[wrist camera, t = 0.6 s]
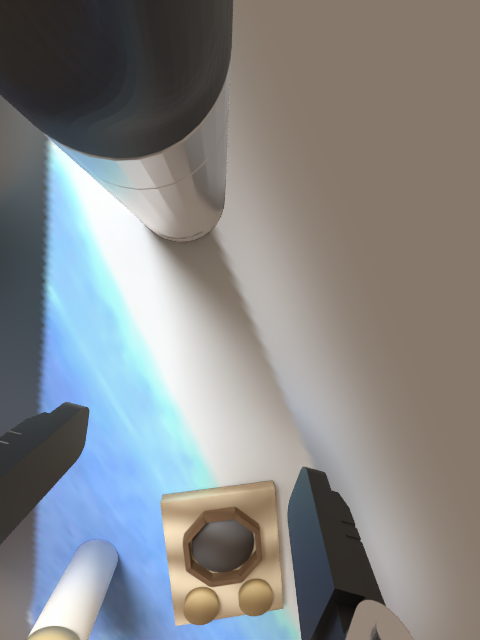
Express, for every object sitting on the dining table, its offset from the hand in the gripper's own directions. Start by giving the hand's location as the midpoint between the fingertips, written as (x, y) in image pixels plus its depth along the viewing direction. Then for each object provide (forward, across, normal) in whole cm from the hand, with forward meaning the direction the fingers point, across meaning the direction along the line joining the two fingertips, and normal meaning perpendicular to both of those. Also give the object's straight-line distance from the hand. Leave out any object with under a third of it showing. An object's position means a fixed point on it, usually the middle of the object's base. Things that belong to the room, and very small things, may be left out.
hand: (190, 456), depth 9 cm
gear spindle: (+15, +9, +30) cm, 35 cm away
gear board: (+17, -6, +26) cm, 32 cm away
